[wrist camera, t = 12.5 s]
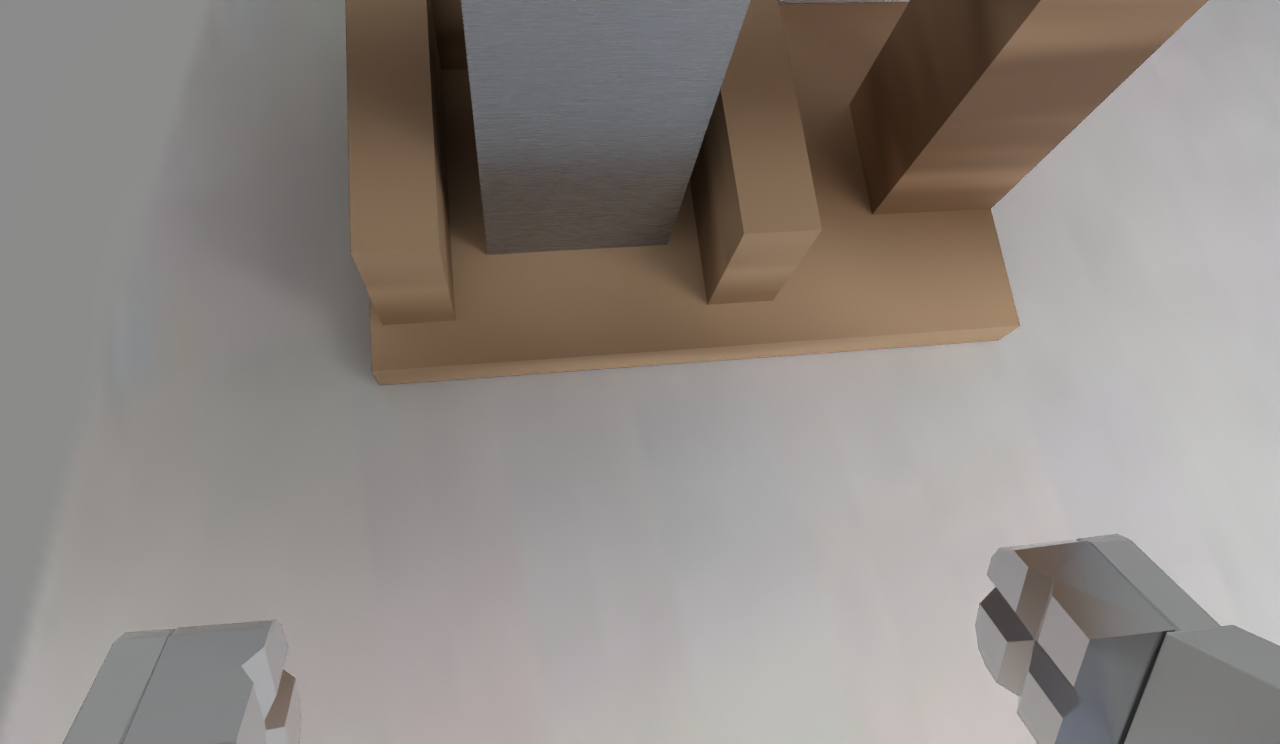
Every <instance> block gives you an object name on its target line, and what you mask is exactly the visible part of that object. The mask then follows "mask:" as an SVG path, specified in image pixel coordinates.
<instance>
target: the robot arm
mask: <svg viewBox="0 0 1280 744" xmlns="http://www.w3.org/2000/svg"><path fill="white" fill-rule="evenodd" d="M987 575H988V577H989V579H990V580H991V582H992V583H993V585H994V586H995V588H994V589H993V590H992V591H991V592H990V593H989V594H988V595H987V596H986V597H985V599H984V600H983V601H982V602H981V603H980V604H979V609H978V614H977V619H976V624H975V627H976V635H977V642H978V649H979V651H980V654H981V656H982V659H983V661H984V664H985V666H986V667H987V669H988V670H989V672H990V674H991V675H992V677H993V678H994V680H995V681H996V683H998V684H999V685H1001V686H1003V687H1004V688H1006V689H1008V690H1009V691H1011V692H1013V693H1014V694H1016V695H1018V696H1019V699H1018V707H1017V714H1018V716H1019V717H1020V718H1021V720H1022V721H1023V723H1024V724H1025V726H1026V727H1027V729H1028V730H1029V732H1030V733H1031V735H1032V736H1033V738H1034V739H1035V740H1036V742H1037V743H1038V744H1280V646H1278V645H1276V644H1274V643H1272V642H1270V641H1267V640H1265V639H1263V638H1261V637H1259V636H1256V635H1254V634H1252V633H1250V632H1247V631H1245V630H1243V629H1241V628H1239V627H1236V626H1234V625H1229V626H1220V625H1219V624H1218V623H1217V622H1216V621H1215V620H1214V619H1213V618H1212V617H1211V616H1210V615H1209V614H1208V613H1207V612H1206V611H1205V610H1203V609H1202V608H1201V607H1200V606H1199V605H1198V604H1197V603H1196V602H1195V601H1194V600H1193V599H1192V598H1191V597H1190V596H1189V595H1188V594H1187V593H1186V592H1185V591H1184V590H1182V589H1181V588H1180V587H1179V586H1178V585H1177V584H1176V583H1175V582H1174V581H1173V580H1172V579H1171V578H1170V577H1169V576H1168V575H1167V574H1166V573H1165V572H1164V571H1163V570H1162V569H1160V568H1159V567H1158V566H1157V565H1156V564H1155V563H1154V562H1153V561H1152V560H1151V559H1150V558H1149V557H1148V556H1147V555H1146V554H1145V553H1144V552H1143V551H1142V550H1141V549H1140V548H1138V547H1137V546H1136V545H1135V544H1134V543H1133V542H1132V541H1131V540H1129V539H1128V538H1125V537H1123V536H1121V535H1118V534H1113V535H1104V536H1096V537H1088V538H1079V539H1077V540H1067V541H1058V542H1049V543H1039V544H1030V545H1021V546H1011V547H1002V548H999V549H998V550H997V551H996V553H995V554H994V555H993V556H992V558H991V561H990V565H989V569H988V572H987ZM287 651H288V645H287V641H286V637H285V634H284V630H283V626H282V624H281V623H279V622H278V621H276V620H271V621H258V622H245V623H232V624H219V625H206V626H193V627H181V628H177V629H168V630H155V631H141V632H128V633H125V634H123V635H122V636H121V637H120V638H119V639H117V640H116V641H115V642H114V643H113V645H112V647H111V649H110V651H109V653H108V655H107V657H106V659H105V661H104V663H103V665H102V667H101V668H100V670H99V672H98V674H97V676H96V678H95V680H94V682H93V684H92V686H91V688H90V690H89V692H88V694H87V696H86V698H85V700H84V702H83V704H82V706H81V708H80V710H79V712H78V714H77V716H76V718H75V720H74V722H73V724H72V726H71V728H70V730H69V732H68V734H67V736H66V738H65V740H64V742H63V744H299V743H300V725H301V712H300V700H299V693H298V688H297V683H296V679H295V678H294V677H293V676H291V675H290V674H289V673H287V672H286V671H285V670H283V667H284V663H285V659H286V655H287Z"/></svg>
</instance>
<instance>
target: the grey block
mask: <svg viewBox="0 0 1280 744" xmlns="http://www.w3.org/2000/svg"><path fill="white" fill-rule="evenodd" d="M749 3H750V0H461V5H462V15H463V24H464V34H465V43H466V53H467V62H468V72H469V82H470V91H471V101H472V110H473V120H474V129H475V139H476V148H477V158H478V168H479V177H480V187H481V196H482V206H483V215H484V225H485V234H486V244H487V253H488V255H492V254H511V253H529V252H547V251H566V250H584V249H602V248H621V247H639V246H657V245H667V244H668V241H669V238H670V235H671V232H672V229H673V226H674V224H675V221H676V218H677V215H678V212H679V209H680V206H681V203H682V200H683V197H684V194H685V191H686V188H687V185H688V182H689V179H690V176H691V174H692V171H693V168H694V165H695V162H696V159H697V156H698V153H699V150H700V147H701V144H702V141H703V138H704V135H705V132H706V129H707V127H708V124H709V121H710V118H711V115H712V112H713V109H714V106H715V103H716V100H717V97H718V94H719V91H720V88H721V85H722V82H723V79H724V77H725V74H726V71H727V68H728V65H729V62H730V59H731V56H732V53H733V50H734V47H735V44H736V41H737V38H738V35H739V32H740V29H741V27H742V24H743V21H744V18H745V15H746V12H747V9H748V6H749Z"/></svg>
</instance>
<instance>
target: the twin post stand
mask: <svg viewBox="0 0 1280 744" xmlns="http://www.w3.org/2000/svg"><path fill="white" fill-rule="evenodd" d="M345 1H346V51H347V101H348V151H349V201H350V251H351V256H352V258H353V260H354V263H355V265H356V267H357V269H358V272H359V274H360V276H361V278H362V280H363V283H364V285H365V287H366V289H367V292H368V294H369V296H370V334H371V371H372V373H373V375H374V377H375V378H376V380H377V382H378V384H379V385H388V384H402V383H415V382H429V381H443V380H457V379H471V378H484V377H498V376H512V375H526V374H540V373H553V372H567V371H581V370H595V369H609V368H622V367H636V366H650V365H664V364H677V363H691V362H705V361H719V360H733V359H746V358H760V357H774V356H788V355H802V354H815V353H829V352H843V351H857V350H871V349H884V348H898V347H912V346H926V345H940V344H953V343H967V342H981V341H995V340H999V339H1001V338H1002V337H1004V336H1005V335H1007V334H1008V333H1010V332H1011V331H1013V330H1014V329H1016V328H1017V327H1019V326H1020V323H1019V319H1018V315H1017V311H1016V307H1015V304H1014V300H1013V296H1012V292H1011V288H1010V284H1009V280H1008V276H1007V272H1006V268H1005V264H1004V260H1003V256H1002V252H1001V248H1000V244H999V240H998V236H997V232H996V228H995V225H994V221H993V217H992V213H991V208H992V207H993V206H994V205H995V204H996V203H997V202H998V201H999V200H1000V199H1001V198H1002V197H1004V196H1005V195H1006V194H1007V193H1008V192H1009V191H1010V190H1011V189H1012V188H1013V187H1014V186H1015V185H1016V184H1017V183H1018V182H1019V181H1020V180H1021V179H1022V178H1023V177H1024V176H1025V175H1026V174H1028V173H1029V172H1030V171H1031V170H1032V169H1033V168H1034V167H1035V166H1036V165H1037V164H1038V163H1039V162H1040V161H1041V160H1042V159H1043V158H1044V157H1045V156H1046V155H1047V154H1048V153H1049V152H1050V151H1052V150H1053V149H1054V148H1055V147H1056V146H1057V145H1058V144H1059V143H1060V142H1061V141H1062V140H1063V139H1064V138H1065V137H1066V136H1067V135H1068V134H1069V133H1070V132H1071V131H1072V130H1073V129H1075V128H1076V127H1077V126H1078V125H1079V124H1080V123H1081V122H1082V121H1083V120H1084V119H1085V118H1086V117H1087V116H1088V115H1089V114H1090V113H1091V112H1092V111H1093V110H1094V109H1095V108H1096V107H1097V106H1099V105H1100V104H1101V103H1102V102H1103V101H1104V100H1105V99H1106V98H1107V97H1108V96H1109V95H1110V94H1111V93H1112V92H1113V91H1114V90H1115V89H1116V88H1117V87H1118V86H1119V85H1120V84H1121V83H1123V82H1124V81H1125V80H1126V79H1127V78H1128V77H1129V76H1130V75H1131V74H1132V73H1133V72H1134V71H1135V70H1136V69H1137V68H1138V67H1139V66H1140V65H1141V64H1142V63H1143V62H1144V61H1145V60H1147V59H1148V58H1149V57H1150V56H1151V55H1152V54H1153V53H1154V52H1155V51H1156V50H1157V49H1158V48H1159V47H1160V46H1161V45H1162V44H1163V43H1164V42H1165V41H1166V40H1167V39H1168V38H1169V37H1171V36H1172V35H1173V34H1174V33H1175V32H1176V31H1177V30H1178V29H1179V28H1180V27H1181V26H1182V25H1183V24H1184V23H1185V22H1186V21H1187V20H1188V19H1189V18H1190V17H1191V16H1192V15H1194V14H1195V13H1196V12H1197V11H1198V10H1199V9H1200V8H1201V7H1202V6H1203V5H1204V4H1205V3H1206V2H1207V1H1208V0H910V2H864V3H779V1H778V0H750V3H749V6H748V9H747V12H746V15H745V18H744V21H743V24H742V27H741V29H740V32H739V35H738V38H737V41H736V44H735V47H734V50H733V53H732V56H731V59H730V62H729V65H728V68H727V71H726V74H725V77H724V79H723V82H722V85H721V88H720V91H719V94H718V97H717V100H716V103H715V106H714V109H713V112H712V115H711V118H710V121H709V124H708V127H707V129H706V132H705V135H704V138H703V141H702V144H701V147H700V150H699V153H698V156H697V159H696V162H695V165H694V168H693V171H692V174H691V176H690V179H689V182H688V185H687V188H686V191H685V194H684V197H683V200H682V203H681V206H680V209H679V212H678V215H677V218H676V221H675V224H674V226H673V229H672V232H671V235H670V238H669V241H668V244H667V245H657V246H639V247H621V248H602V249H584V250H566V251H547V252H529V253H511V254H492V255H488V253H487V244H486V234H485V225H484V215H483V206H482V196H481V187H480V177H479V168H478V158H477V148H476V139H475V129H474V120H473V110H472V101H471V91H470V82H469V72H468V62H467V53H466V43H465V34H464V24H463V15H462V5H461V0H345Z"/></svg>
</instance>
